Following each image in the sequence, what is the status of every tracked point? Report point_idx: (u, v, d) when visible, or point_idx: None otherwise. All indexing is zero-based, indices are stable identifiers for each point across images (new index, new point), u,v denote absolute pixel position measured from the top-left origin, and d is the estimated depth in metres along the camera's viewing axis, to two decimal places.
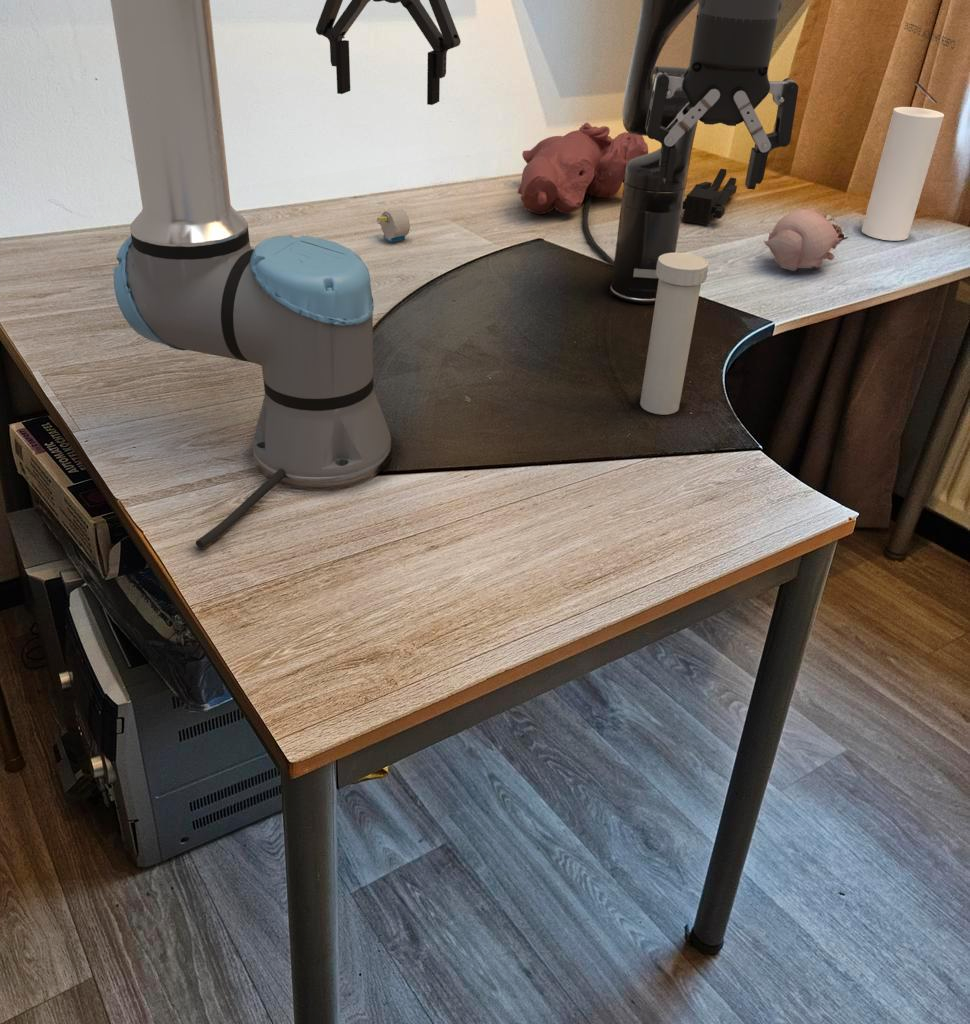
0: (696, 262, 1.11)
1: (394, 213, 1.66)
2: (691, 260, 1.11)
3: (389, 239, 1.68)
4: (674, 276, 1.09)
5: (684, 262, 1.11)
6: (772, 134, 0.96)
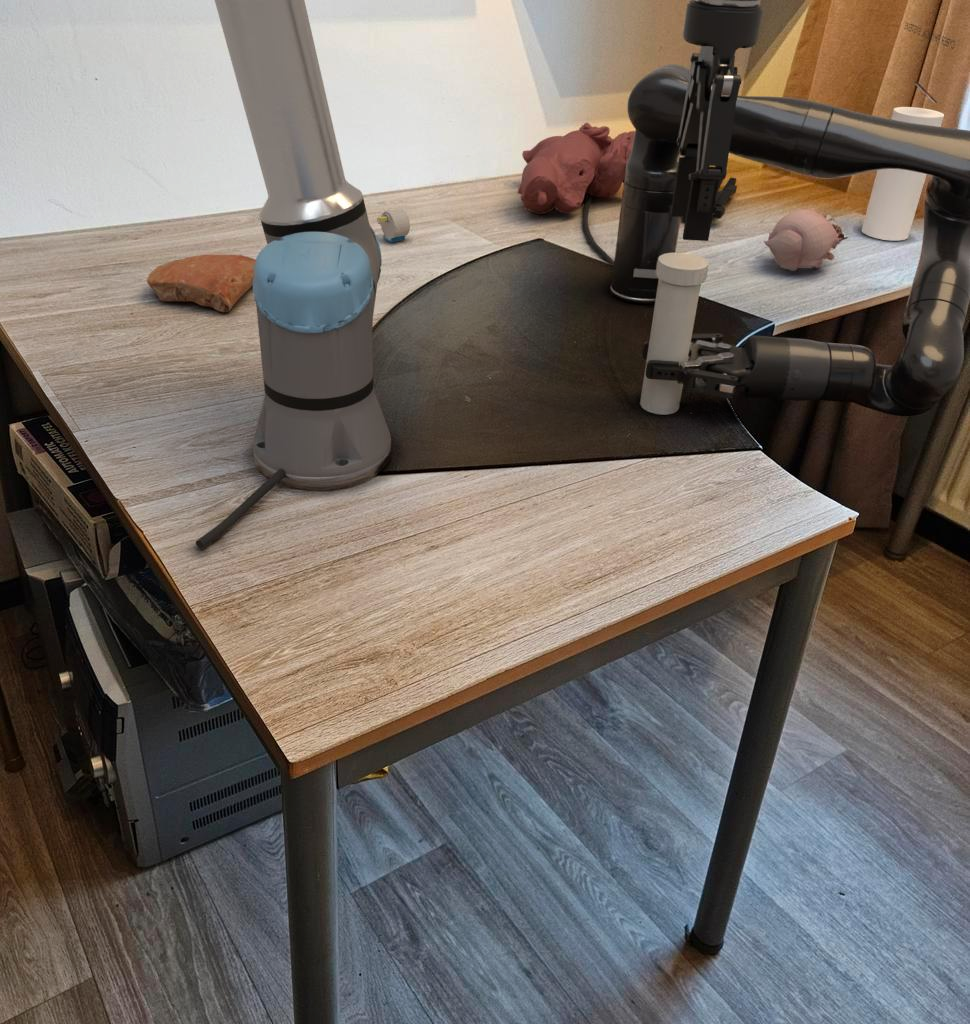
0: (696, 262, 1.11)
1: (394, 213, 1.66)
2: (691, 260, 1.11)
3: (389, 239, 1.68)
4: (674, 276, 1.09)
5: (684, 262, 1.11)
6: None
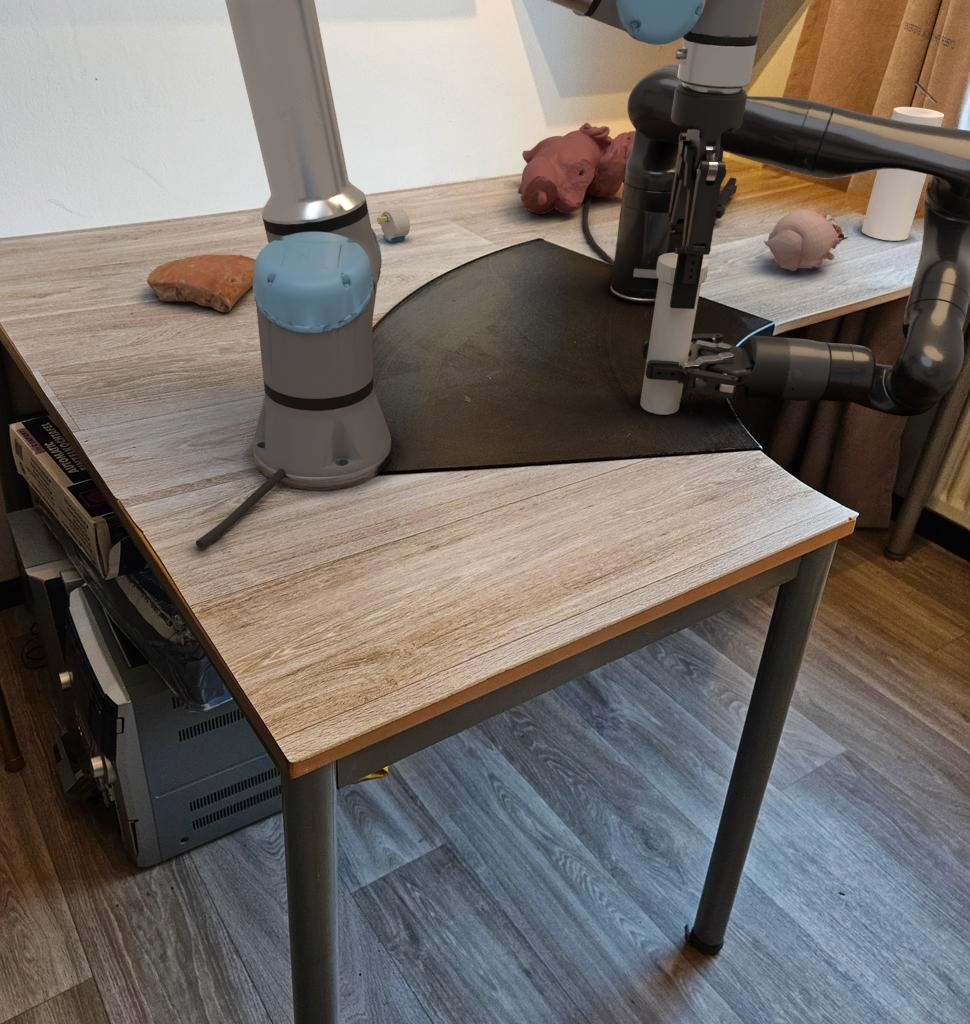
0: None
1: (394, 213, 1.66)
2: None
3: (389, 239, 1.68)
4: None
5: None
6: None
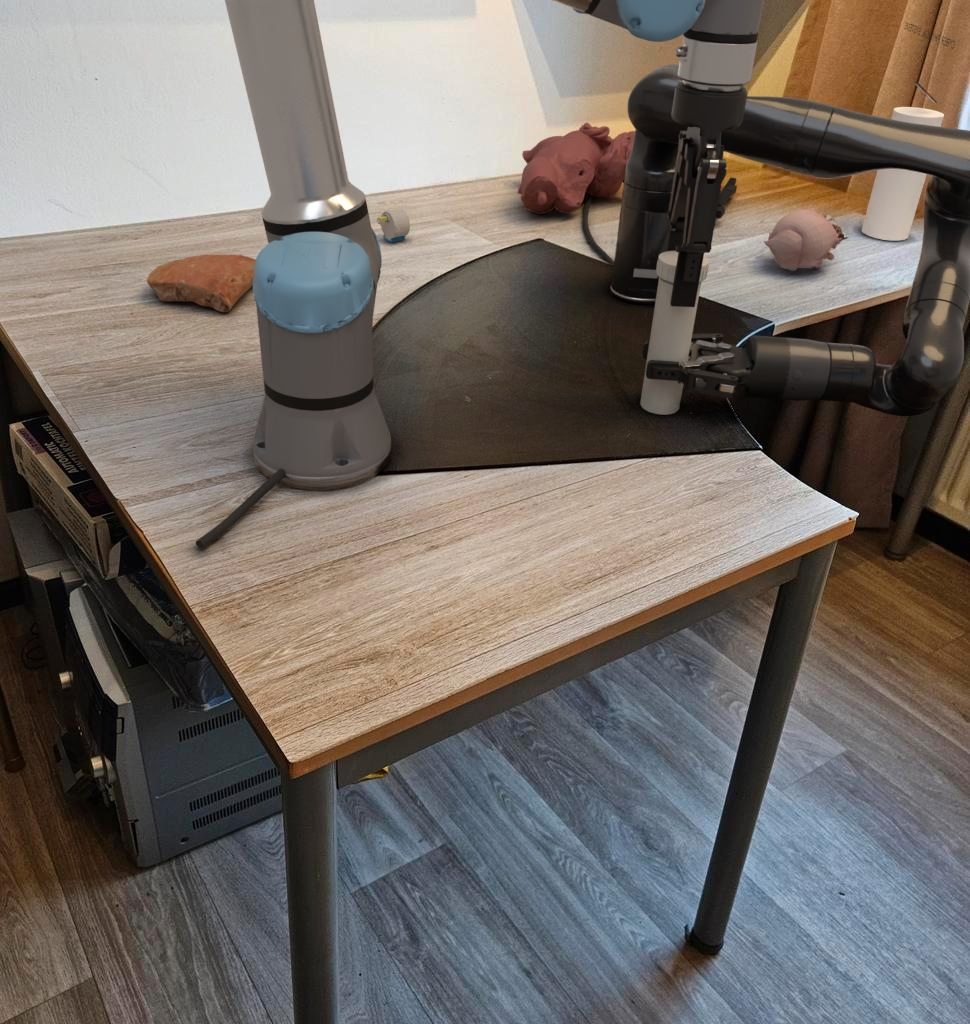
0: None
1: (394, 213, 1.66)
2: None
3: (389, 239, 1.68)
4: (705, 273, 1.10)
5: None
6: None
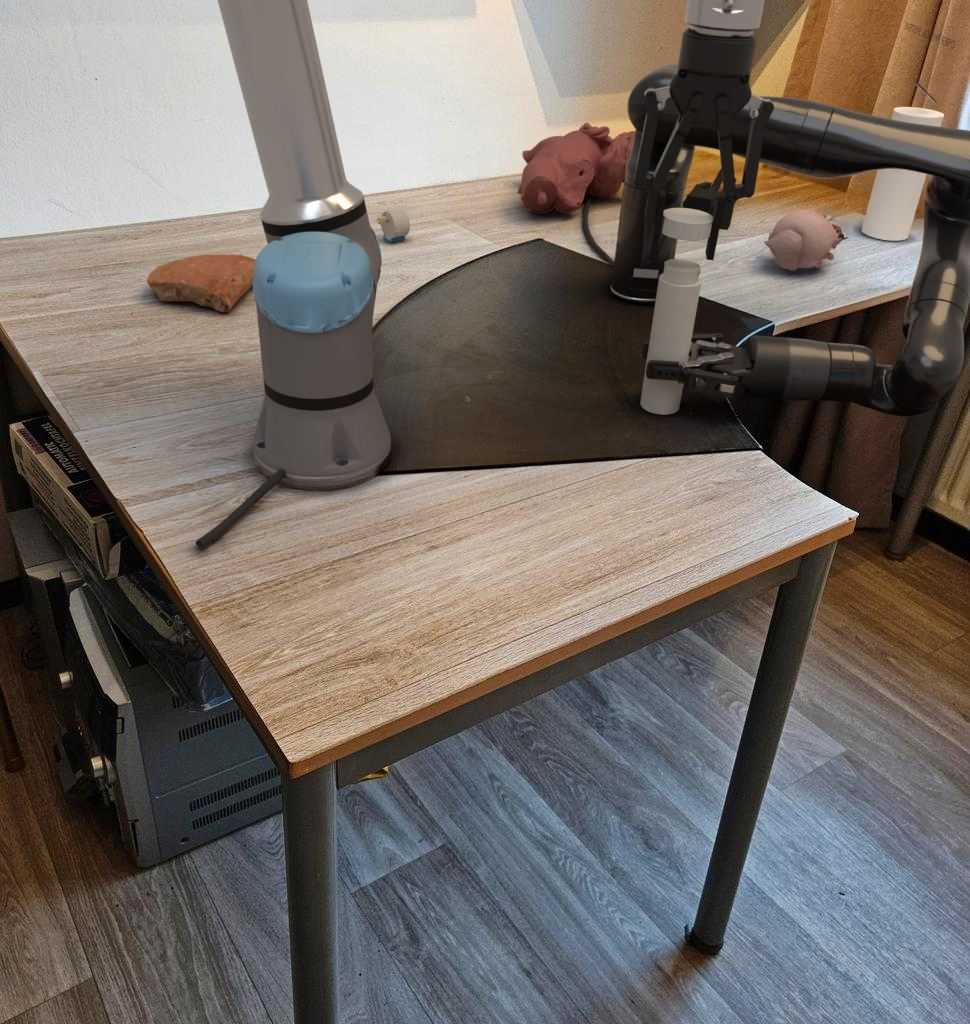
0: (675, 212, 1.09)
1: (394, 213, 1.66)
2: (678, 214, 1.08)
3: (389, 239, 1.68)
4: None
5: (687, 214, 1.09)
6: None
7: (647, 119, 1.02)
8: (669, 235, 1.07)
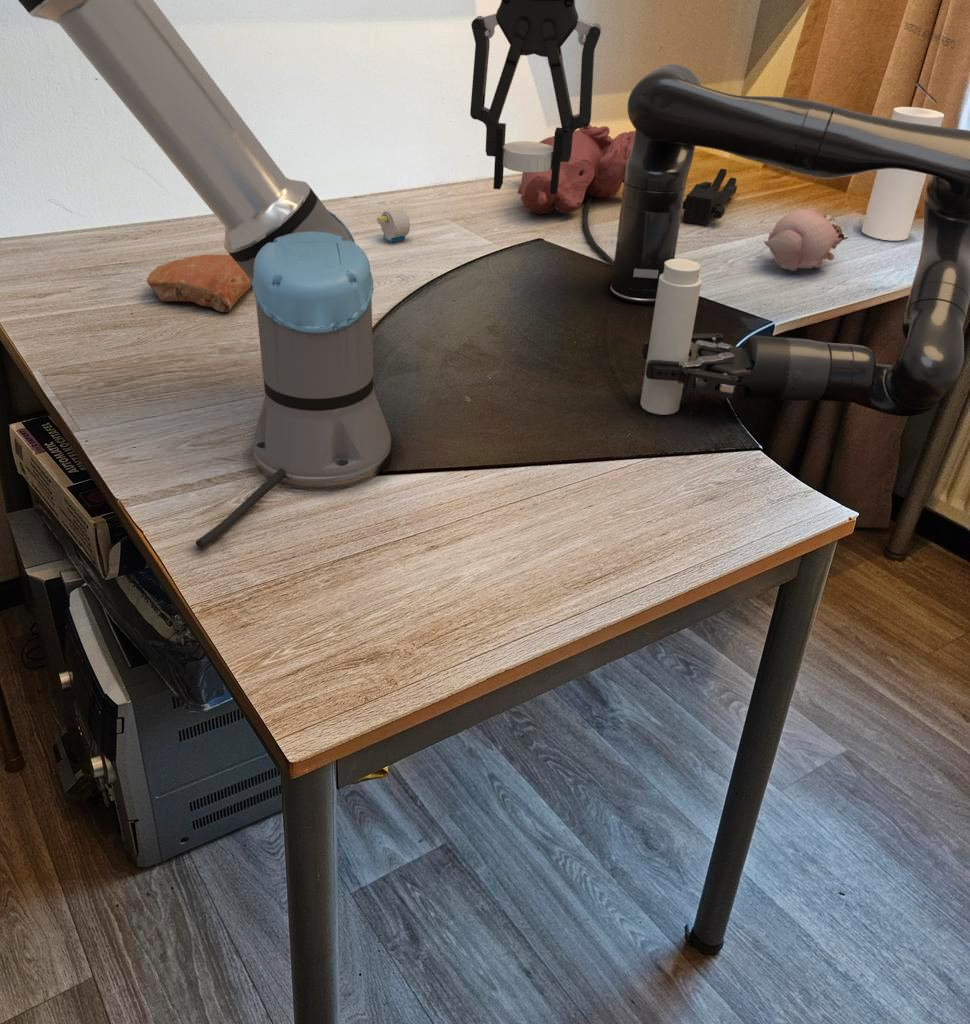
0: (516, 145, 1.07)
1: (394, 213, 1.66)
2: (519, 147, 1.07)
3: (389, 239, 1.68)
4: None
5: (529, 146, 1.07)
6: None
7: (476, 48, 1.01)
8: (509, 167, 1.06)
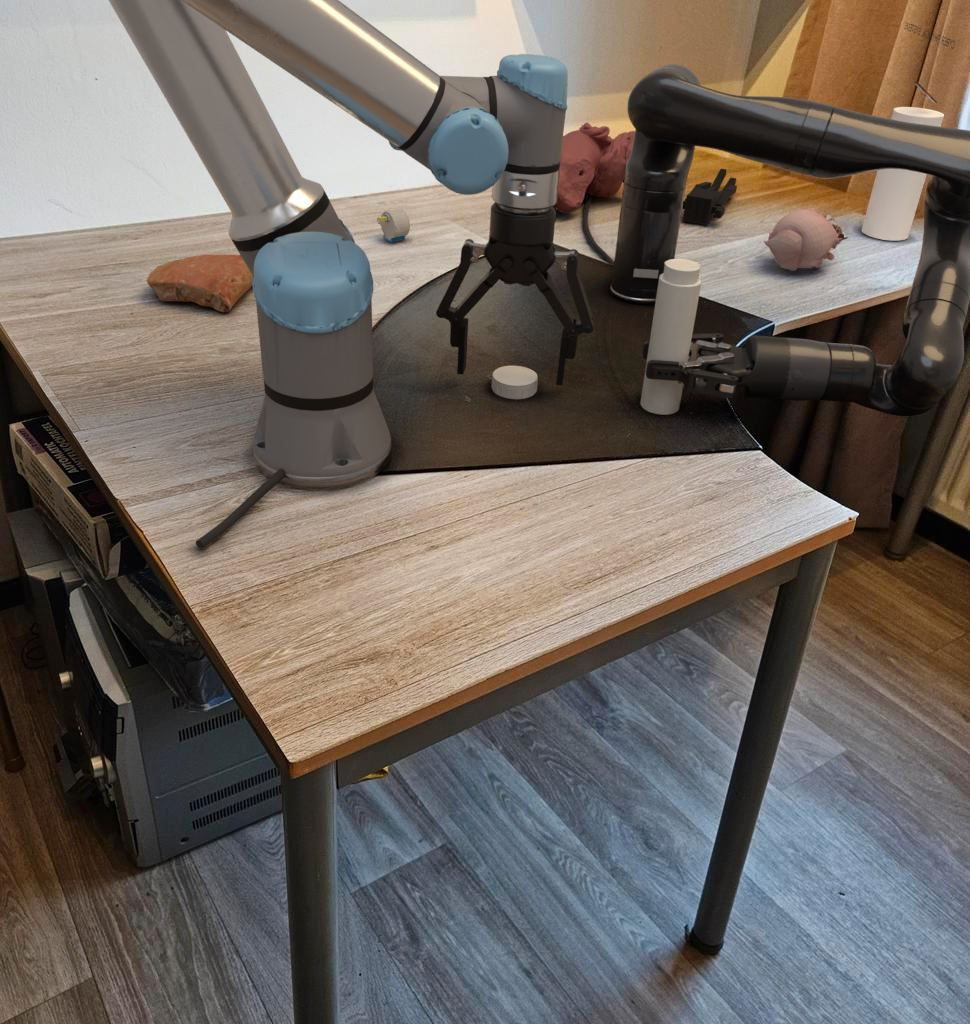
0: (504, 372, 1.23)
1: (394, 213, 1.66)
2: (507, 374, 1.23)
3: (389, 239, 1.68)
4: None
5: (515, 373, 1.23)
6: None
7: (459, 266, 1.14)
8: (498, 394, 1.22)
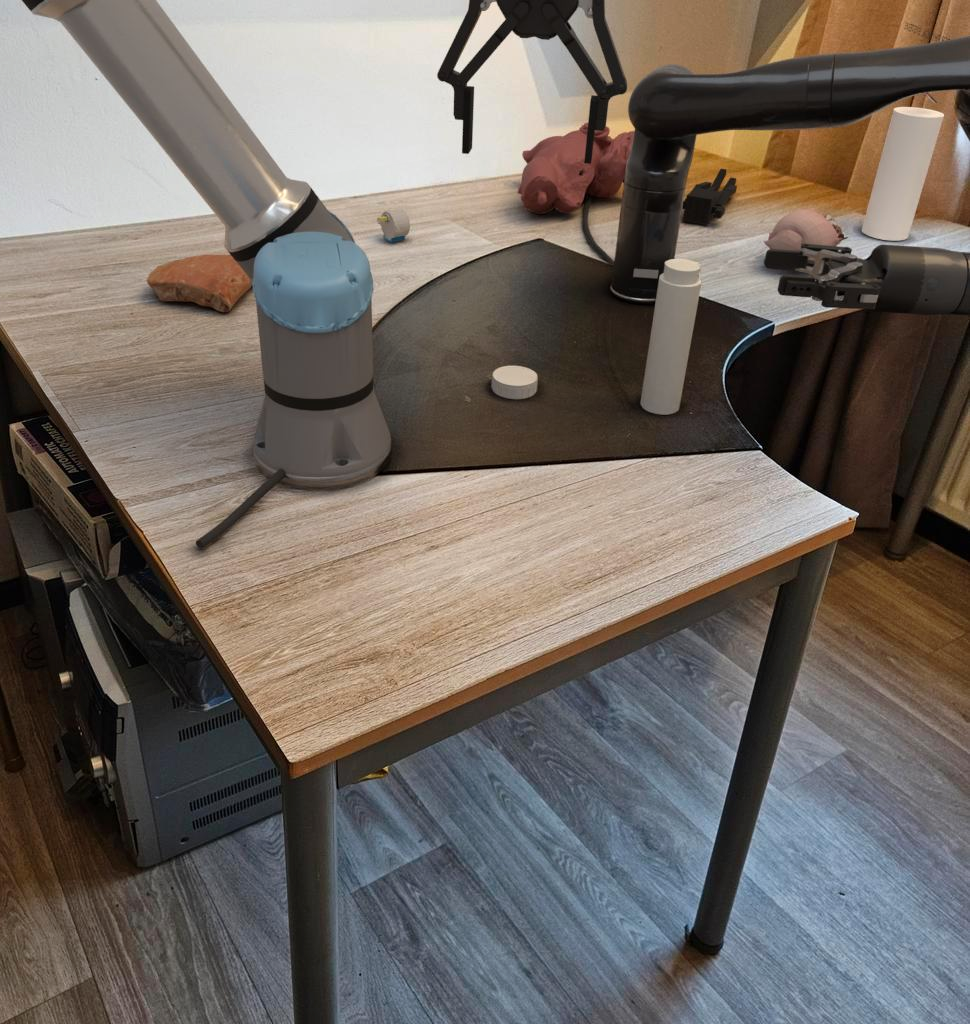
0: (504, 372, 1.23)
1: (394, 213, 1.66)
2: (507, 374, 1.23)
3: (389, 239, 1.68)
4: None
5: (515, 373, 1.23)
6: None
7: (467, 14, 0.99)
8: (498, 394, 1.22)
